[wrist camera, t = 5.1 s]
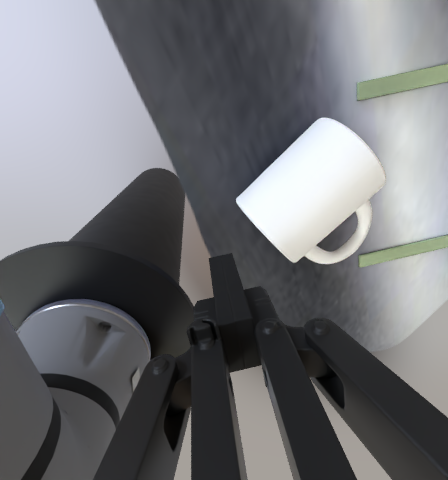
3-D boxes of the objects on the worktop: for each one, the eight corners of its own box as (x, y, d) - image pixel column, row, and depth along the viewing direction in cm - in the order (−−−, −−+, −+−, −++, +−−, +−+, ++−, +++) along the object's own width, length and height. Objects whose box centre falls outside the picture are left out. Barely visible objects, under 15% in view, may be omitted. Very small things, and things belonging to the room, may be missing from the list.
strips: (358, 266, 33) (359, 267, 33) (356, 83, 26) (358, 82, 26) (454, 244, 34) (456, 245, 34) (480, 57, 26) (483, 56, 26)
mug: (229, 192, 28) (243, 214, 21) (305, 117, 27) (349, 113, 19) (300, 264, 32) (333, 304, 25) (370, 204, 31) (427, 228, 23)
